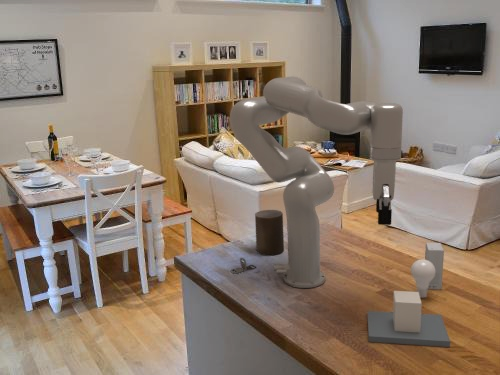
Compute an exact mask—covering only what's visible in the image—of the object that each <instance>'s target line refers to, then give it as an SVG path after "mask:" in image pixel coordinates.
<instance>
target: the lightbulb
mask: <svg viewBox="0 0 500 375" xmlns="http://www.w3.org/2000/svg"><path fill="white" fill-rule="evenodd" d="M435 273H436V271H435V267H434V265H433V264H432V263H431V262H430V261H428V260H425V258H421V259H417V260H415V261H414V262H413V263H412V264H411V267H410V275H411V276H412V278H413V280H414V282H415V286H416V292H419V296H420V299H423V298H427V297H428V289H427V288H428V286H429V283H430V282H431V281H432V279H433V278H434V276H435Z"/></svg>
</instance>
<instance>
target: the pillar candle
mask: <svg viewBox="0 0 500 375" xmlns="http://www.w3.org/2000/svg"><path fill="white" fill-rule="evenodd" d="M254 220H255V243H256V247H255V248H256V252H257V254H259V255H263V256H268V257H269V256H270V257H271V256H277V255H280V254H283V253H284V251H285V246H284V245H285V242H284V215H283V212H282V211H281V210H278V209H263V210H259V211H257V212H256V213H255V212H254Z"/></svg>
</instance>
